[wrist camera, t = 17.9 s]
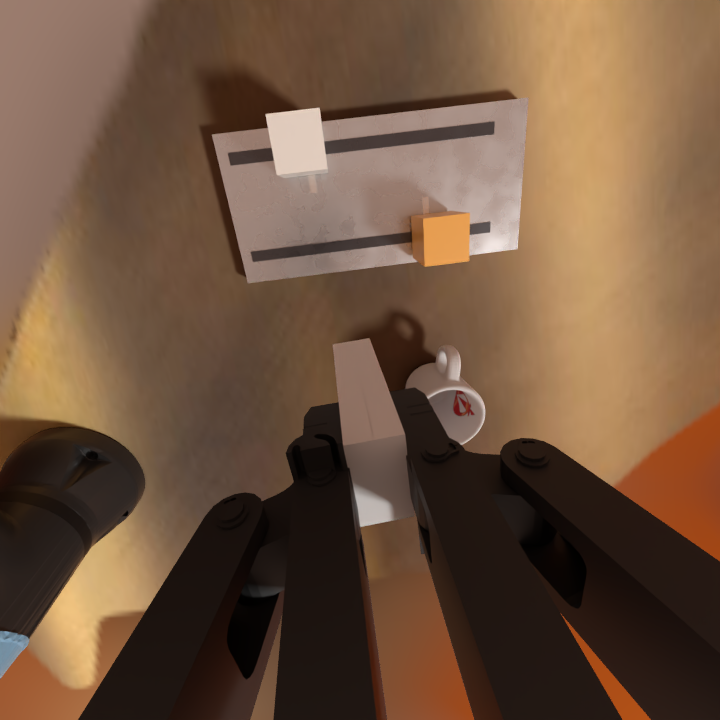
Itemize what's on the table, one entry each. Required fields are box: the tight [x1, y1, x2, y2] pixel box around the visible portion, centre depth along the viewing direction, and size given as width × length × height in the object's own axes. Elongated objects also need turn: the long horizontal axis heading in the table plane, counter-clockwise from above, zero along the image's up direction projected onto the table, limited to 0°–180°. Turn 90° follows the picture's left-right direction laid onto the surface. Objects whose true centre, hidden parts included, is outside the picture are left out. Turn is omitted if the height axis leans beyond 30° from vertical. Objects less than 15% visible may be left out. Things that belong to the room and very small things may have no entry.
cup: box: [405, 345, 485, 445], centre depth 41 cm, size 11×8×8 cm
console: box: [212, 98, 528, 283], centre depth 35 cm, size 28×13×2 cm, turn 96°
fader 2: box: [411, 211, 470, 267], centre depth 33 cm, size 4×4×5 cm
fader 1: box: [265, 108, 328, 178], centre depth 29 cm, size 4×4×5 cm
